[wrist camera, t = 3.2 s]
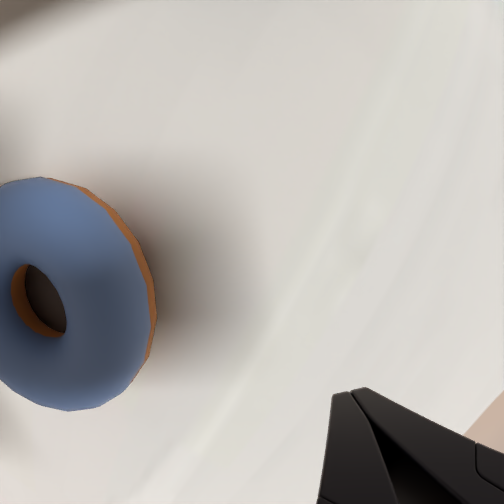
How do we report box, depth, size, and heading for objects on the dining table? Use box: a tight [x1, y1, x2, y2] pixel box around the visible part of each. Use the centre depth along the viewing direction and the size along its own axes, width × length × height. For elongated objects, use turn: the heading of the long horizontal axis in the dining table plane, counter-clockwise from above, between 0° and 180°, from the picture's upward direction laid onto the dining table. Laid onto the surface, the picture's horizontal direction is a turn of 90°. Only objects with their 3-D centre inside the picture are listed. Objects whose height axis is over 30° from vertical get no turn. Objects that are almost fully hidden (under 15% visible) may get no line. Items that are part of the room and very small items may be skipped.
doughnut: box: [0, 177, 157, 411], centre depth 11 cm, size 10×10×5 cm
